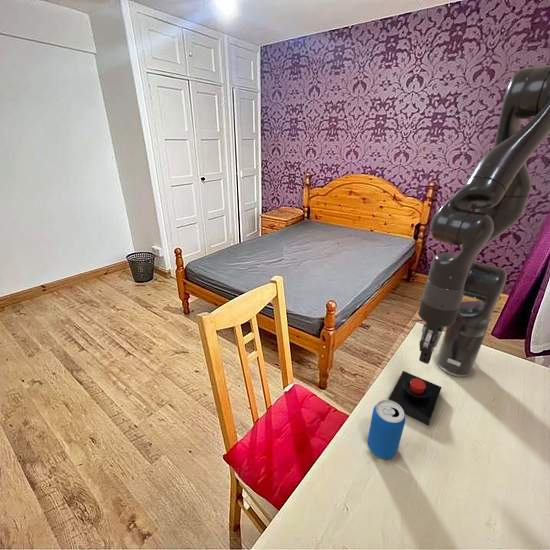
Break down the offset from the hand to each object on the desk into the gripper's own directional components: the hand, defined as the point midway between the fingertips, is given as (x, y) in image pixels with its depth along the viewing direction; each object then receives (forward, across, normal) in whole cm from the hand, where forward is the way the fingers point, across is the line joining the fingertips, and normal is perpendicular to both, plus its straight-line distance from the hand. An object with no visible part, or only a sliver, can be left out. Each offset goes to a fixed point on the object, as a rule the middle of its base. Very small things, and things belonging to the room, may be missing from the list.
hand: (424, 360), depth 75 cm
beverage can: (+14, -18, +2) cm, 23 cm away
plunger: (+9, 0, 0) cm, 9 cm away
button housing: (+14, 0, 0) cm, 14 cm away
